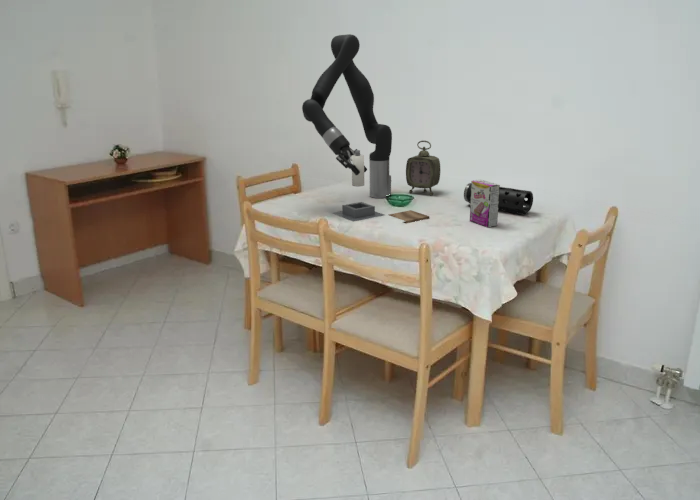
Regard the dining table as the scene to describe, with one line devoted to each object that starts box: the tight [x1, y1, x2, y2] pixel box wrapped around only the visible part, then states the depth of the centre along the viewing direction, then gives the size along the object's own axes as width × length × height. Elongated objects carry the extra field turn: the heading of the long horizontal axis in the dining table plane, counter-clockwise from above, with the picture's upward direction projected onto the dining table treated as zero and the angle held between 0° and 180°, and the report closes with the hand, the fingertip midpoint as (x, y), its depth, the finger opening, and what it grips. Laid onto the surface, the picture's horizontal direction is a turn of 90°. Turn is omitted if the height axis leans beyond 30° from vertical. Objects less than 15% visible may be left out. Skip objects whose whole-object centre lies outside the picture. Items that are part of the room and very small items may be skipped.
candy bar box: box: [469, 179, 501, 228], centre depth 228 cm, size 11×5×16 cm, turn 29°
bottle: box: [351, 149, 365, 187], centre depth 237 cm, size 5×5×14 cm
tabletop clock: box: [405, 140, 441, 197], centre depth 277 cm, size 14×9×25 cm, turn 58°
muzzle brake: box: [463, 182, 534, 216], centre depth 248 cm, size 10×28×10 cm, turn 47°
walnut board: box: [388, 210, 430, 224], centre depth 240 cm, size 12×12×1 cm
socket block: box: [332, 201, 385, 222], centre depth 243 cm, size 16×16×4 cm
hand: (361, 172), depth 237 cm, fingers closed on bottle, 5 cm apart
